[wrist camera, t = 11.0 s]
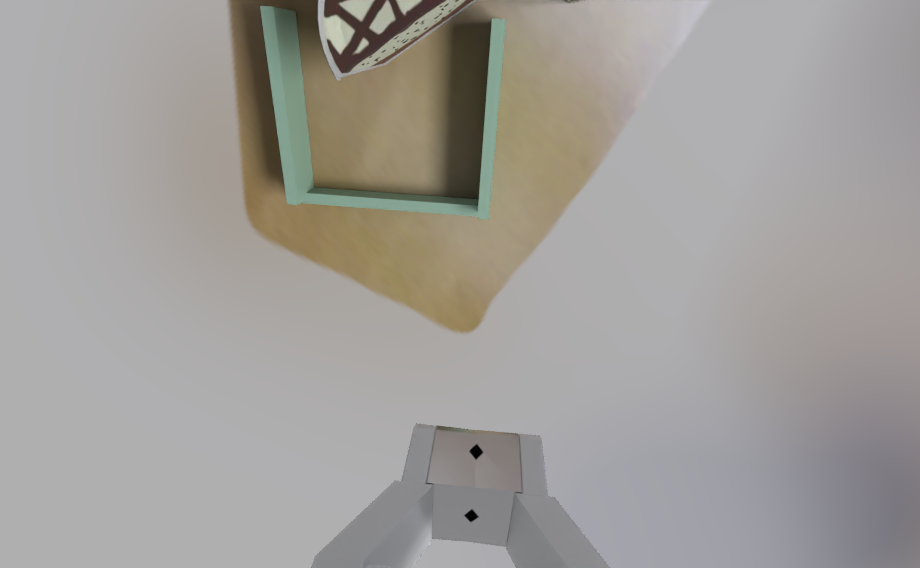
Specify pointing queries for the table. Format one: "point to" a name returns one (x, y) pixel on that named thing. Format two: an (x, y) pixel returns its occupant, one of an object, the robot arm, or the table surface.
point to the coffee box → (573, 0)
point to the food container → (377, 29)
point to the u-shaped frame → (296, 137)
